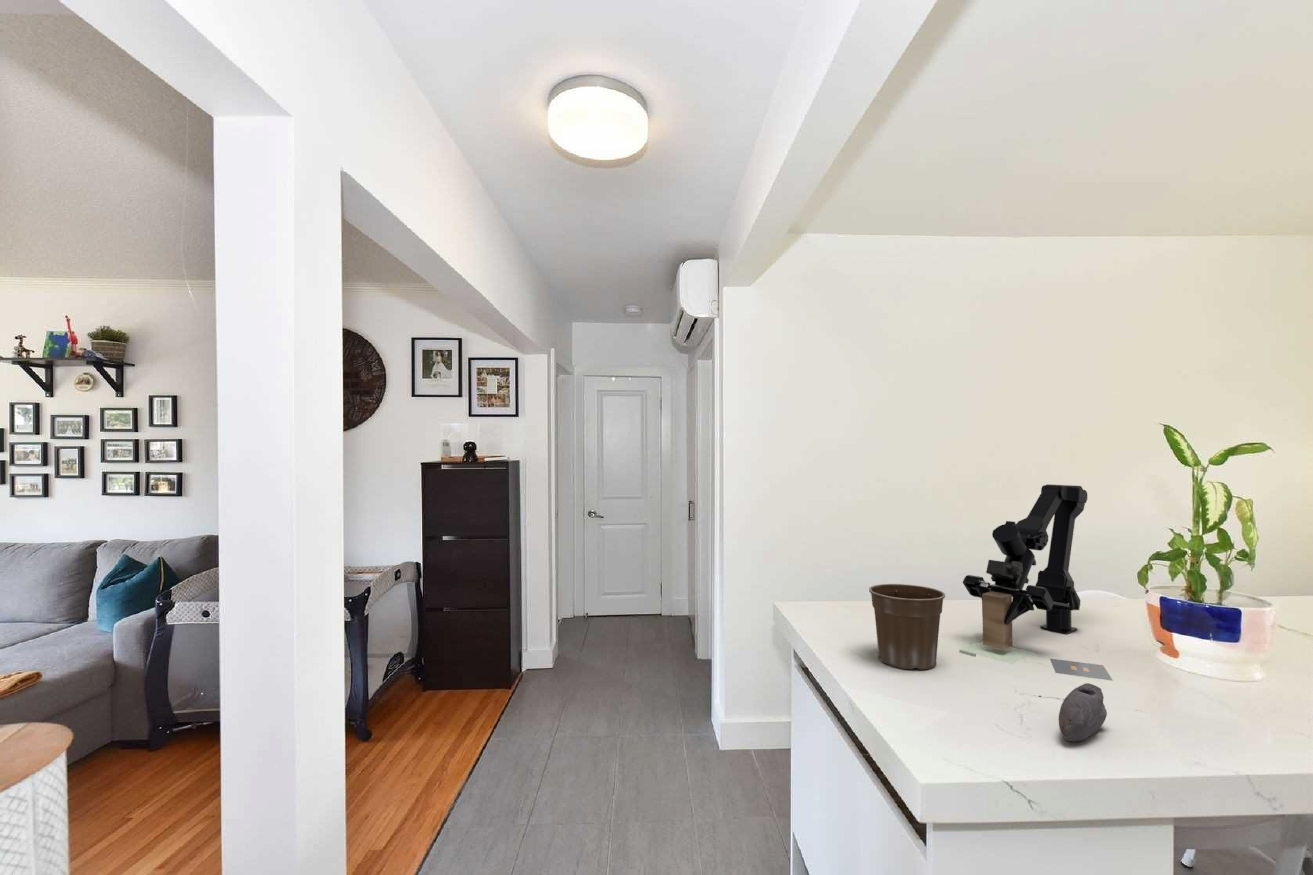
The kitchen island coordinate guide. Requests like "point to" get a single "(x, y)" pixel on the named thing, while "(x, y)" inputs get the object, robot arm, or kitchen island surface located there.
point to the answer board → (997, 652)
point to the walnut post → (996, 620)
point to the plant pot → (907, 624)
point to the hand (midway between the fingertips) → (994, 621)
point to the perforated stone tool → (1082, 712)
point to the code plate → (1080, 669)
